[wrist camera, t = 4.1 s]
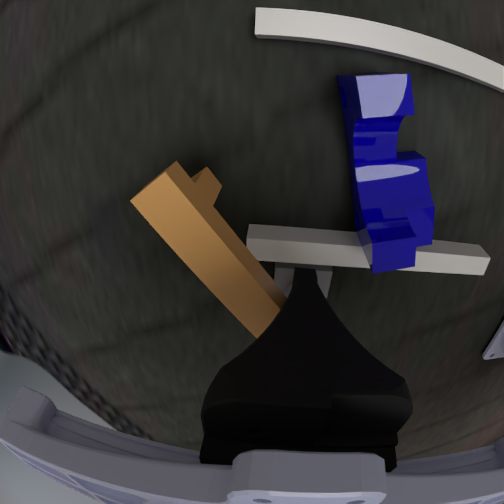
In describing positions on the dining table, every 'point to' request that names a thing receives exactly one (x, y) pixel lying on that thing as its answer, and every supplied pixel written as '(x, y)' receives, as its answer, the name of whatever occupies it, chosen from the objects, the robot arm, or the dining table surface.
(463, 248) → the rails
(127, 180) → the dining table surface
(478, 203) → the dining table surface
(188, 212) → the tan lever handle
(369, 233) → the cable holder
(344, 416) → the robot arm
